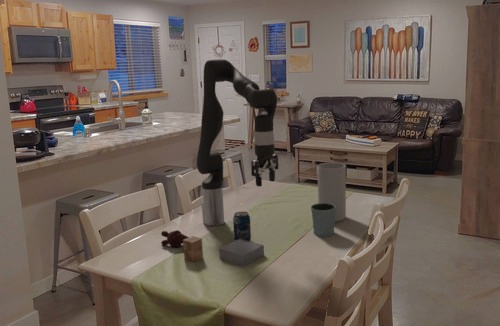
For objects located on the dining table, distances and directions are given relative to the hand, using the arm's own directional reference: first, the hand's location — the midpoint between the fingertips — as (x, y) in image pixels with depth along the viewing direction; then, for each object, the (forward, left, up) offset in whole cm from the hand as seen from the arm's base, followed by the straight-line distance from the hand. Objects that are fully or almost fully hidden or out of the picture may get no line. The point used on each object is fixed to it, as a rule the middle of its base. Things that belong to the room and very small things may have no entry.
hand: (265, 183), depth 182 cm
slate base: (-2, -13, -26) cm, 29 cm away
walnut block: (-16, -25, -26) cm, 40 cm away
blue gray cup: (+11, +25, -26) cm, 38 cm away
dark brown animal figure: (-32, -20, -26) cm, 46 cm away
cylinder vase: (+4, +44, -26) cm, 51 cm away
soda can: (-12, -1, -26) cm, 29 cm away
